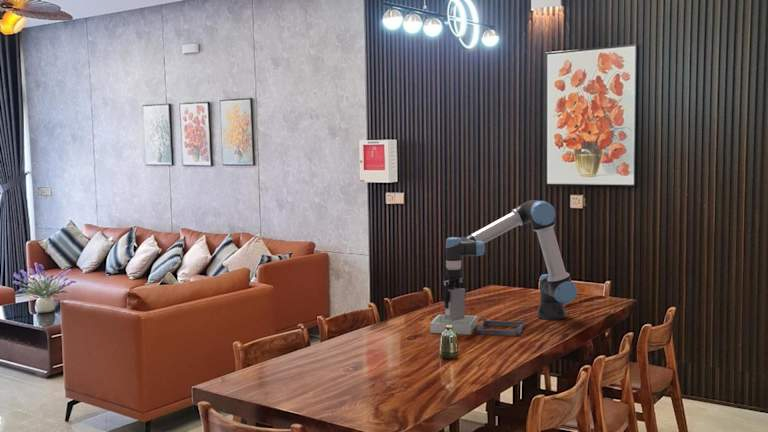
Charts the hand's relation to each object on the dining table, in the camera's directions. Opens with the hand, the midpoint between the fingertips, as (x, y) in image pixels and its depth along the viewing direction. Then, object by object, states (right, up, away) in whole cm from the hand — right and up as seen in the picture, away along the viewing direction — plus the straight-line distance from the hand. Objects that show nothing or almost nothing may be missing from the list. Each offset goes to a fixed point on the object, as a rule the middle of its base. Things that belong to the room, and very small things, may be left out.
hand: (454, 313), depth 377 cm
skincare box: (0, -3, 0) cm, 3 cm away
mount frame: (+23, -8, -4) cm, 25 cm away
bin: (0, -8, +1) cm, 8 cm away
